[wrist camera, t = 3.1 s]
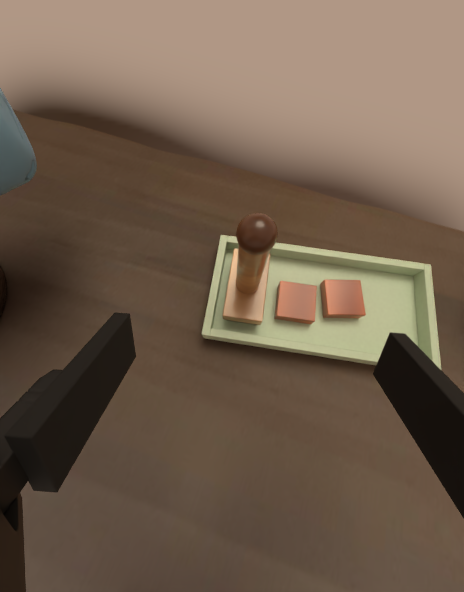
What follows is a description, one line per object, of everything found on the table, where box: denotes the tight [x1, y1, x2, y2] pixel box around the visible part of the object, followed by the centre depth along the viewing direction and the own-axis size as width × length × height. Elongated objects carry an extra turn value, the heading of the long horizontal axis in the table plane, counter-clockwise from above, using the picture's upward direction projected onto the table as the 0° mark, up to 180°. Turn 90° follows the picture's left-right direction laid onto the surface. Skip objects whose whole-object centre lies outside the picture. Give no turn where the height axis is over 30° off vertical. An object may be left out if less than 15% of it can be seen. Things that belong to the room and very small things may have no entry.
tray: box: [202, 235, 441, 370], centre depth 28 cm, size 24×12×2 cm, turn 81°
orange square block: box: [320, 279, 366, 318], centre depth 28 cm, size 4×4×2 cm
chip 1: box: [274, 281, 317, 324], centre depth 28 cm, size 4×4×2 cm
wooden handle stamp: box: [223, 213, 278, 325], centre depth 22 cm, size 4×8×13 cm, turn 171°
